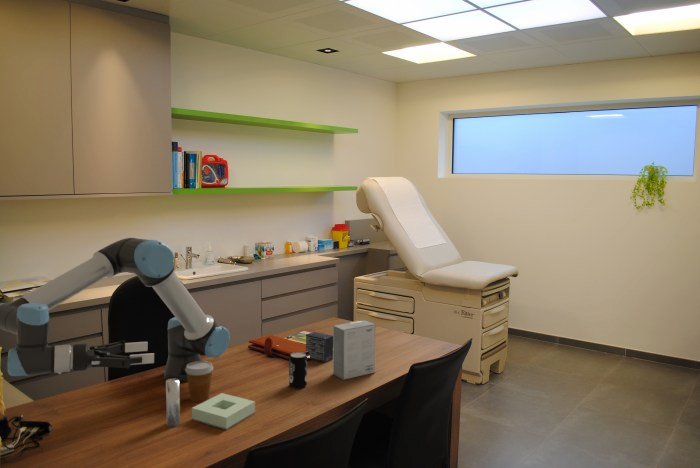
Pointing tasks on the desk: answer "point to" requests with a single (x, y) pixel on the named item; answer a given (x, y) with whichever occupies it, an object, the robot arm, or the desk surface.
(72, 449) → the desk surface
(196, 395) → the disposable coffee cup
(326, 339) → the small box
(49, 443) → the desk surface
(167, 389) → the pin
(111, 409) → the desk surface
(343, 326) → the hard drive box
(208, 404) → the socket block
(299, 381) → the beverage can
